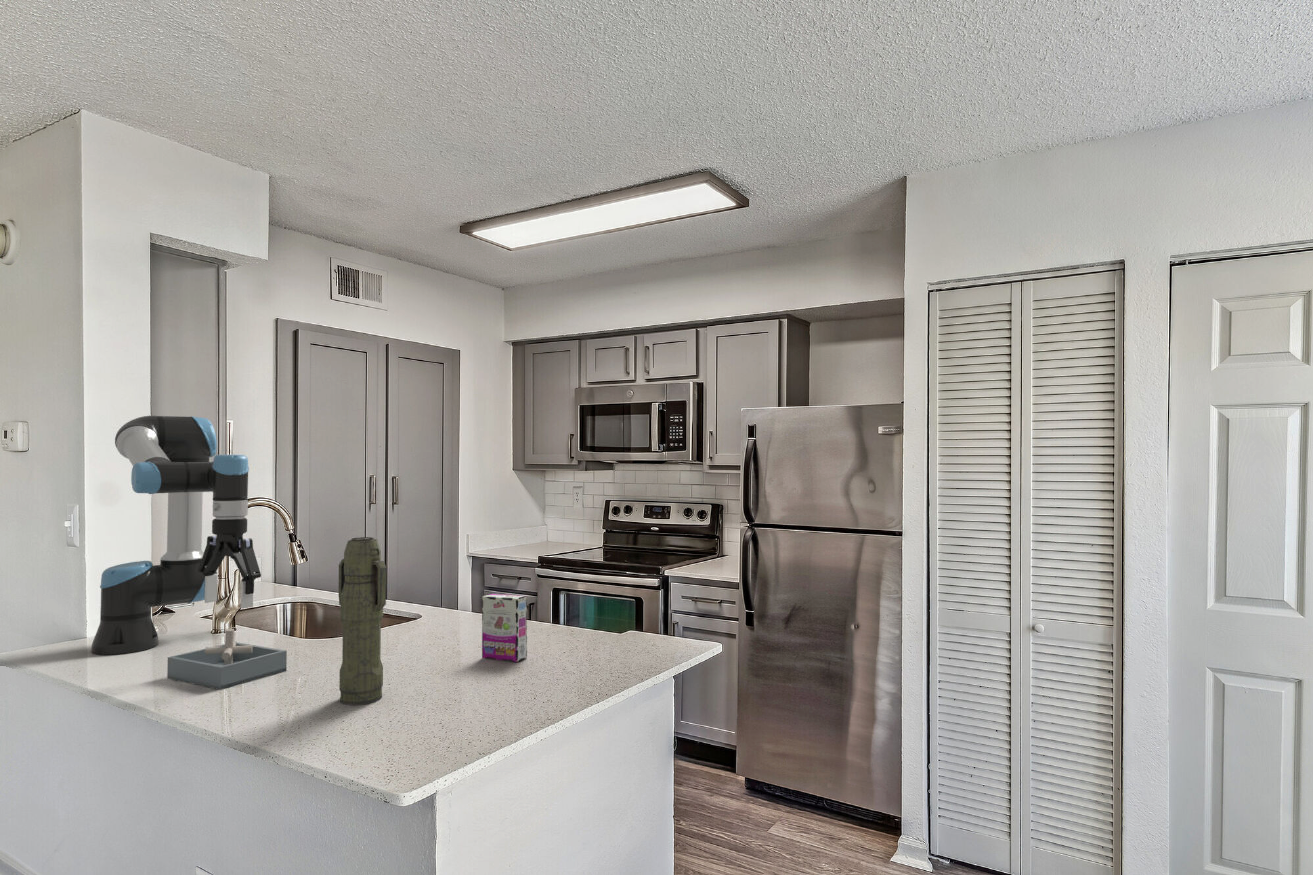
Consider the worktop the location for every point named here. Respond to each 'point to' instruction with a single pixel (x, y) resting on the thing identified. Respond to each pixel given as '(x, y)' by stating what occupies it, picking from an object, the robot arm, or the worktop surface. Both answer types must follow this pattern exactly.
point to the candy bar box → (504, 627)
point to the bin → (226, 666)
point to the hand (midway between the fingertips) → (228, 604)
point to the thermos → (361, 621)
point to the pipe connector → (228, 648)
